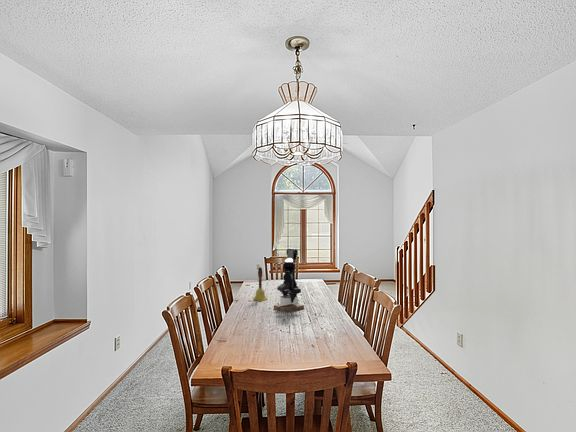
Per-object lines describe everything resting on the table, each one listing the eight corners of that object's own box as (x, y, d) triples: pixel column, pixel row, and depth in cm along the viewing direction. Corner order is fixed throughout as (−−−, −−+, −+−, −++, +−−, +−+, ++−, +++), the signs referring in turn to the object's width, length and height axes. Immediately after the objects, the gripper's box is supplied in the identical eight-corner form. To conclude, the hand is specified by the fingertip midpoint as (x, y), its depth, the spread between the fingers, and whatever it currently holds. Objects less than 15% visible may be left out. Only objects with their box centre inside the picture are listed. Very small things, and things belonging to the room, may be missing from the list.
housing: (292, 301, 279) (292, 294, 279) (297, 303, 275) (297, 295, 275) (280, 303, 274) (280, 296, 274) (285, 304, 269) (285, 297, 269)
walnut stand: (273, 308, 274) (273, 305, 274) (290, 305, 285) (290, 302, 285) (287, 312, 264) (287, 308, 264) (304, 308, 274) (304, 305, 274)
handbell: (253, 301, 299) (253, 268, 299) (251, 298, 311) (251, 266, 311) (269, 300, 302) (269, 268, 302) (266, 297, 314) (266, 266, 314)
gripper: (271, 279, 276) (271, 301, 276) (289, 282, 262) (289, 305, 262) (283, 277, 283) (283, 299, 283) (301, 280, 269) (301, 303, 269)
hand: (288, 301), depth 274 cm, fingers closed on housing, 6 cm apart
